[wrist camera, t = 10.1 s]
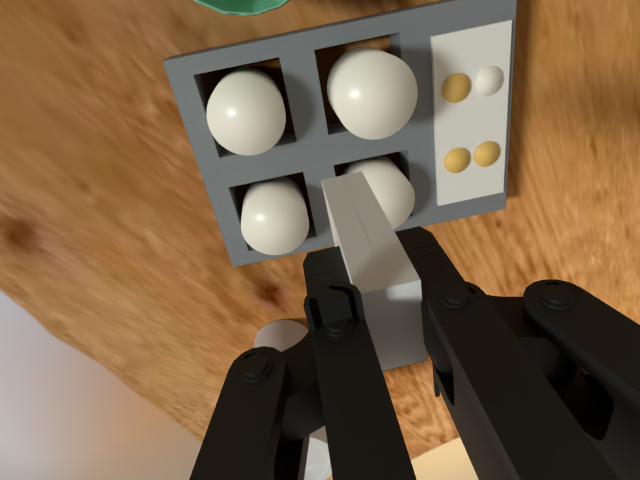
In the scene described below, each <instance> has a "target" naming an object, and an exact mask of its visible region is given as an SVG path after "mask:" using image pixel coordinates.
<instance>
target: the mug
mask: <svg viewBox="0 0 640 480" xmlns="http://www.w3.org/2000/svg"><path fill="white" fill-rule="evenodd" d="M194 1H195V2H196V3H198V4H201V5H203V6H206V7H208V8H211V9H213V10H215V11H218V12H220V13H223V14H227V15H244V16H255V15H258V14H262V13H265V12H268V11H271V10H275V9H278V8H280V7H282V6H283V5H284V4H286V3H287V2H288V1H290V0H194Z"/></svg>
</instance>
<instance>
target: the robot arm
mask: <svg viewBox="0 0 640 480" xmlns="http://www.w3.org/2000/svg"><path fill="white" fill-rule="evenodd" d="M321 182H322V187H323V192H324V196H325V201H326V206H327V211H328V216H329V220H330V225H331V230H332V235H333V240H334V244H335V247H332V248H327V249H323V250H319V251H314V252H310V253H308V254H307V256H306V258H305V260H304V262H303V269H304V275H305V282H306V288H307V296H306V297H305V300H304V310H305V313H306V317H307V320H308V324H309V327H310V329H309V331H308V332H307V334H306V335H305V337H304V338H303V339H302V340H301V341H299V342H298V343H297V344H295V345H293V346H292V347H290V348H288V349H286V350H284V351H282V352H281V351H279V350H277V349H275V348H274V347H267V346H261V347H256V348H252V349H250V350H248V351H246V352H244V353H242V354H241V355H240V356H239V357H238V358H237V359H236V360H234V362H233V364H232V365H231V367H230V369H229V371H228V373H227V376H226V379H225V382H224V385H223V387H222V390H221V393H220V396H219V398H218V401H217V404H216V407H215V410H214V412H213V415H212V418H211V421H210V424H209V426H208V429H207V432H206V435H205V437H204V440H203V443H202V446H201V449H200V451H199V454H198V457H197V460H196V463H195V465H194V468H193V471H192V474H191V477H190V479H189V480H304V476H305V469H306V462H307V454H308V447H309V440H310V434H311V433H313V432H315V431H317V430H318V429H320V428H322V427H323V426H325V430H326V437H327V443H328V450H329V457H330V463H331V470H332V477H333V480H416V476H415V473H414V470H413V467H412V464H411V461H410V457H409V454H408V451H407V448H406V445H405V442H404V439H403V435H402V432H401V429H400V426H399V423H398V420H397V417H396V413H395V410H394V407H393V404H392V401H391V398H390V395H389V391H388V388H387V385H386V382H385V379H384V376H383V373H382V371H384V370H389V369H393V368H397V367H402V366H406V365H410V364H415V363H419V362H423V361H427V353H426V349H427V351H428V353H429V355H430V357H431V360H432V364H433V379H434V391H435V396H436V397H438V396H440V392H441V394H442V396H443V399H444V401H445V403H446V406H447V408H448V410H449V412H450V415H451V417H452V419H453V422H454V424H455V426H456V428H457V431H458V433H459V435H460V438H461V440H462V442H463V444H464V447H465V449H466V451H467V454H468V456H469V458H470V460H471V463H472V465H473V467H474V470H475V472H476V474H477V476H478V479H479V480H640V325H639V324H637V323H636V322H634V321H633V320H631V319H629V318H628V317H626V316H625V315H623V314H621V313H620V312H618V311H617V310H615V309H614V308H612V307H610V306H609V305H607V304H606V303H604V302H603V301H601V300H599V299H598V298H596V297H595V296H593V295H592V294H590V293H588V292H587V291H585V290H584V289H582V288H580V287H578V286H576V285H574V284H572V283H570V282H566V281H561V280H541V281H537V282H533V283H532V284H531V285H529V286H528V287H526V289H525V292H524V294H523V297H498V296H490V295H486V294H485V293H484V292H483V291H482V290H481V289H480V288H479V287H478V286H476V285H474V284H472V283H469V282H465V281H464V279H463V278H462V277H461V275H460V274H459V272H458V271H457V269H456V268H455V266H454V265H453V263H452V262H451V260H450V259H449V258H448V256H447V255H446V253H444V250H443V249H442V247H441V246H440V245H439V244H438V242H437V240H436V239H435V237H434V236H433V234H432V233H431V232H429V231H427V230H425V229H423V228H422V227H420V226H418V227H413V228H409V229H405V230H400V231H396V232H394V230H393V228H392V226H391V224H390V222H389V221H388V219H387V217H386V215H385V213H384V211H383V209H382V208H381V206H380V204H379V202H378V200H377V198H376V197H375V195H374V193H373V191H372V189H371V187H370V185H369V184H368V182H367V180H366V178H365V176H364V174H363V172H362V171H359V172H355V173H351V174H346V175H342V176H337V177H333V178H329V179H324V180H321Z"/></svg>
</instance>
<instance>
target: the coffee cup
mask: <svg viewBox="0 0 640 480" xmlns="http://www.w3.org/2000/svg"><path fill="white" fill-rule="evenodd" d="M308 331H309V330H308V329H307V328H306V327H305V326H304V325H303V324H301V323H299V322H297V321H293V320H276V321H273V322H270V323H268V324H266V325H265V326H263V327H262V328H261V329H260V330H259V332H258V333H257V335H256V338H255V343H254V348H256V347H261V346H267V347H274V348H275V349H277V350H279V351H281V352H282V351H284V350H286V349H288V348H290V347H292V346H293V345H295V344H297V343H298V342H299V341H301V340H302V339H303V338H304V337H305V335H306V334H307V332H308ZM331 474H332V470H331V463H330V457H329V450H328V443H327V437H326V430H325V426H323V427H322V428H320V429H318V430H317V431H315V432H313V433H311V434H310V440H309V447H308V454H307V462H306V469H305V476H304V480H326V479H328V478H329V477H330V476H331Z"/></svg>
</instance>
